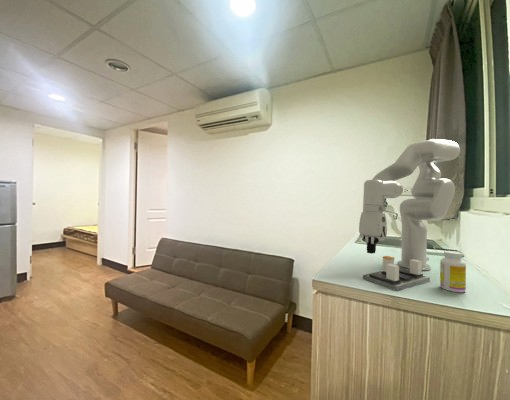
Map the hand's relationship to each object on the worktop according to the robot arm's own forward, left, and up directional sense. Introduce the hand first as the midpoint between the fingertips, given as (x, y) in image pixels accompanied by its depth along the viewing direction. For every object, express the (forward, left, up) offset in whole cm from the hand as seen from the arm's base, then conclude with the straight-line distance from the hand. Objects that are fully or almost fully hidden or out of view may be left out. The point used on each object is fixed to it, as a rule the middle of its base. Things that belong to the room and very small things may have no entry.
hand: (371, 252), depth 95 cm
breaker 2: (-8, +13, -6) cm, 17 cm away
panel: (-1, +10, -8) cm, 13 cm away
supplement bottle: (-10, +24, -9) cm, 27 cm away
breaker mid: (-1, +7, -6) cm, 9 cm away
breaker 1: (+7, +13, -6) cm, 16 cm away
